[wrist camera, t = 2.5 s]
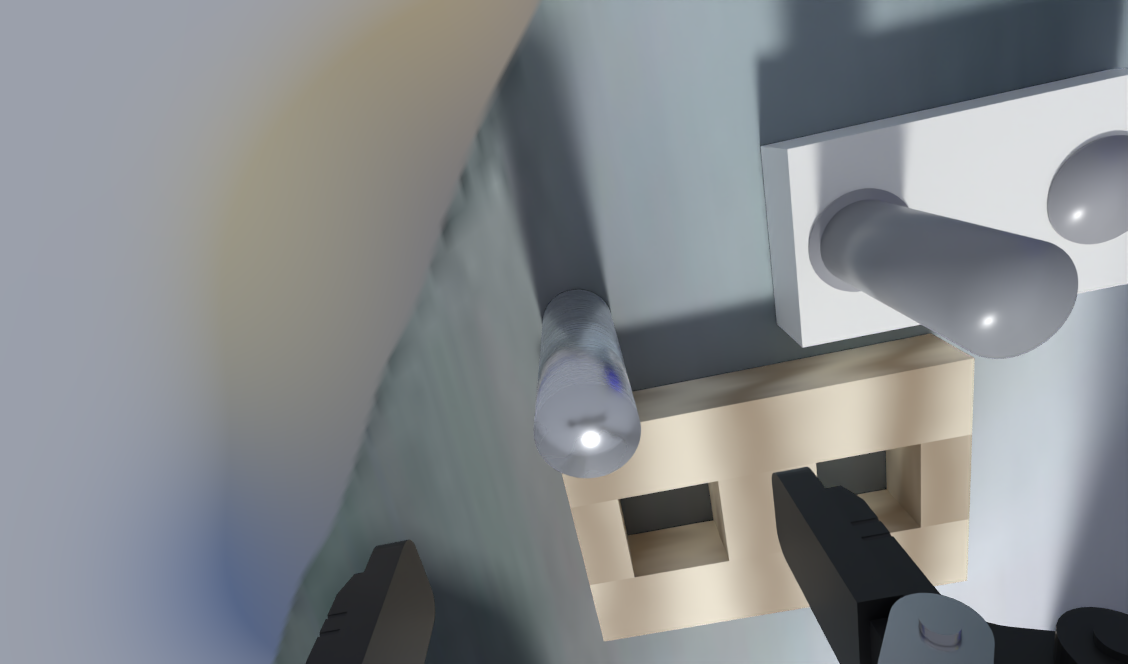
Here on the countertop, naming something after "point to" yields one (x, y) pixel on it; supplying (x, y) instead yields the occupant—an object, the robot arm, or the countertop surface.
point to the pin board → (744, 479)
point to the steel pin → (583, 390)
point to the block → (954, 217)
